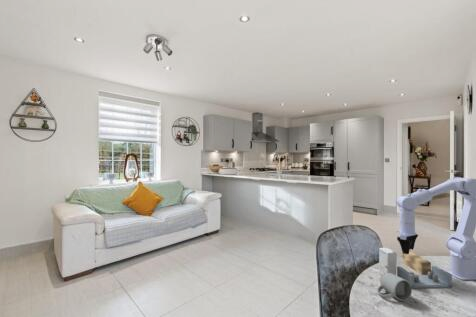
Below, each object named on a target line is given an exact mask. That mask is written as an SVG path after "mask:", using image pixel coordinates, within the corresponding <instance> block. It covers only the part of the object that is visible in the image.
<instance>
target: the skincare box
mask: <svg viewBox="0 0 476 317" xmlns="http://www.w3.org/2000/svg"><path fill="white" fill-rule="evenodd" d="M378 251H379V252H378V253H379V254H378V273H379V275H380V276H382V275H383V274H385V273H391V274H394V275H396V276H397V259H398V258H397V256H398V254H397V252H396V251H394V250H392V249H390V248H389V247H379V249H378Z"/></svg>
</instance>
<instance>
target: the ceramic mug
mask: <svg viewBox="0 0 476 317" xmlns="http://www.w3.org/2000/svg"><path fill="white" fill-rule="evenodd" d="M379 282H380V285H379V286H378V287H377V294H378V295H379V296H380V298H382V299H387V300H388V299H392V298H395V299H397V300H398V301H401V302H405V301H407V300H409V299H410V297H411V296H412V291H413V288H412V287H411V285H410V283H409V282H408V281H407V280H405V279H402V278H400V277H398V276H397V274H396V275H394V274H391V273H385V274H383V275H381V277H380V281H379ZM382 290H384V291H385V292H387V293H388V294H382V293H381V291H382Z"/></svg>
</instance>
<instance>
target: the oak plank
mask: <svg viewBox="0 0 476 317" xmlns="http://www.w3.org/2000/svg"><path fill="white" fill-rule="evenodd" d="M401 252H402V251H401ZM401 257H402V264H404V265H406V266H407V267H408V268H410V269H412V270H413V271H415V272H416V273H418V275H428V272H432V261H429V260H427V259H426V258H425V257H424V258H423V257H421V256H420V255H418V254H416V253H414V252H413V251H409V254H404V253H403V252H402V256H401Z"/></svg>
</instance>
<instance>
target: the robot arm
mask: <svg viewBox="0 0 476 317" xmlns="http://www.w3.org/2000/svg"><path fill="white" fill-rule="evenodd" d="M450 191H454V192H455V191H456V192H457V193H459V195H461V196H462V198H464V203H463V207H462V209H461V213H460V216H459V220H458V223H457V227H456V230H455V231H454V232H453V233H451V234H450V236H449V237H448V239H447V240H446V242H445V246H446V248H447V249H448V250H449V261H450V263H449V264H450V269H445V270H444V271H445V272H447V273H449V274H451V275H452V277H453V276H454V277H456V278H457V279H459V280H461V281H466V280H467V281H468V280H470V281H471V280H476V240H475V239H474V234H475V231H476V178H469V177H461V176H460V177H459V176H455V177H453V178H449V179H447V180H446V181H444V182H442V183H440V184H437V185H435V186H433V187H431V188H429V189H425V188H422V189H421V188H418V189H417V190H416V191H415V192H412V193H407V194H406V195H401V196H399V197H398V198H397V200H396V205H397V206H398V209H399V211H398V212H399V229H396V232H397V233H399V236H397V237H396V240H397V242H398V243H399V246H400V248H401V252H403V253H404V254H409V251H410V250H414V248H415V245H416V244H415V243H416V240H417V238H418V236H419V234H417V232H416V222H415V221H416V220H415V219H416V218H415V215H416V214H415V210H416V209H417V207H418V206H420V205H422V204H426V203H427V202H428V203H429V202H430V201H432V199H433V198H434V197H435V196H438V195H441V194H445V193H447V192H450Z"/></svg>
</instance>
